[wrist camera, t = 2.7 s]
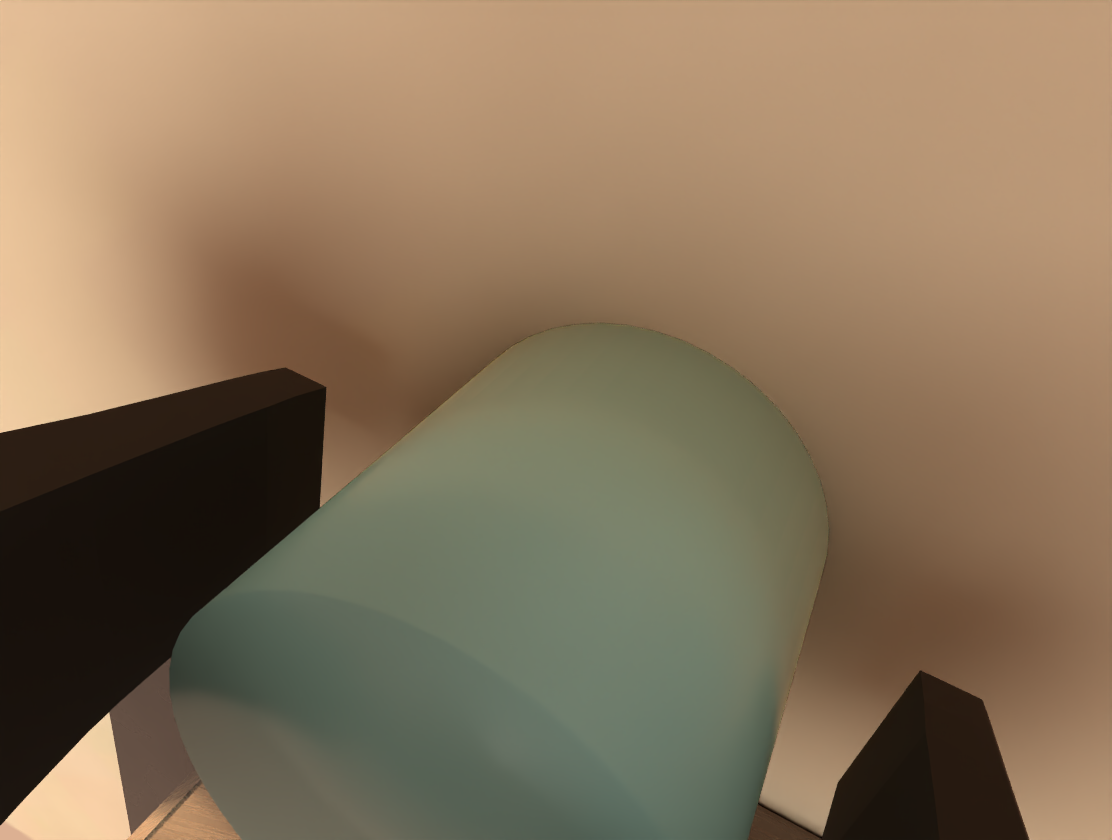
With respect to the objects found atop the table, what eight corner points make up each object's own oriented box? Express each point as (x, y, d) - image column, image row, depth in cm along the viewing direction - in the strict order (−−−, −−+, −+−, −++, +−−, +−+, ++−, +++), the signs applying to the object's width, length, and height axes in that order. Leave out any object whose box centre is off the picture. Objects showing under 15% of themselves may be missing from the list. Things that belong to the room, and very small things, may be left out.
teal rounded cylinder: (488, 260, 10) (147, 479, 6) (905, 430, 9) (823, 845, 5) (436, 555, 13) (184, 835, 9) (744, 714, 12) (610, 1119, 8)
